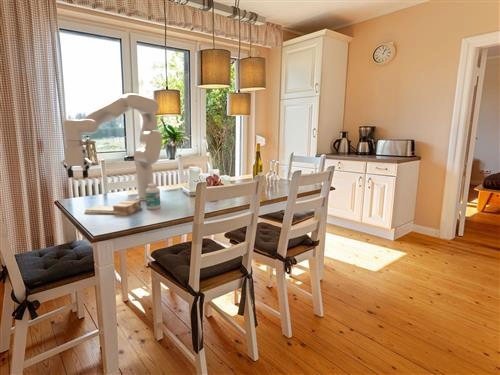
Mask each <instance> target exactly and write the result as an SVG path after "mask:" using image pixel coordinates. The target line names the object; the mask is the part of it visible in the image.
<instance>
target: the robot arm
mask: <svg viewBox="0 0 500 375" xmlns="http://www.w3.org/2000/svg"><path fill="white" fill-rule="evenodd" d="M131 110H136V111H137V112H139V114H140V115H141V117H142V126H141V129H140V135H139V142H140V144H141V145H143V146H145V147H138V148H136V150H134V153H133V159H134V164H135V171H136V183H137V185H136V186H137V196H136V197H135V200H141V201H144V202H146V192H145V191H146V189H147V188H148V184H151V183H154V171H153V165H155V164H156V163H157V162H158V161H159V159H160V155H161V151H162V150H161V149H162V146H163V136H162V134H161V133H160V131H158V118H157V115H156V113H158V112H159V110H160V104H159V102H158V101H157V100H156V99H154V98H151V97H148V96H144V95H141V94H137V93H126V94H122V95H121V96H119V97H117V98H115V99H114V100H113V101H111V102H109V103H108V104H106V105H104V106H102V107H100V108H99V109H97V110H95V111H92V112H91V113H89V114H88V115H86V116H84V117H82V118H81V119H64V120H63V130H64V138H65V147H64V148H65V150H64V160H62V161H61V165H62V166H63V167H64V168H65V170H66V171H67V177H68V179H71V178H74V170H73V167H81V169H82V178H83V179H86V178H88V177H89V173H88V171H89V169H90V168H91V166H92V164H93V162H92V160H89V158H88V154H87V149H86V146H84V145H85V144H86V143H85V141H83V134H89V135H92V134H95V133H97V132H98V131H99V129H100V128H99V126H101V125H103V124H107V123H109V122H112V121H115V120H116V119H118V118H120V117H121V116H123V115H124V114H125V113H127V112H129V111H131Z"/></svg>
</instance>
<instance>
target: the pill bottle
mask: <svg viewBox="0 0 500 375" xmlns="http://www.w3.org/2000/svg"><path fill="white" fill-rule="evenodd" d="M157 186H158V185H157V183H156V182H155V183H154V182H153V183H151V184H148V188H147V189H146V191H145V192H146V200H145V202H146V203H145V207H146V209H147V210H158V209H160V208H161V192H160V191H161V190H160V188H158V187H157Z"/></svg>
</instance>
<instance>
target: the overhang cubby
mask: <svg viewBox="0 0 500 375" xmlns="http://www.w3.org/2000/svg"><path fill="white" fill-rule="evenodd" d="M112 206H113V209H114V212H100V211H86V212H85V211H84V215H111V216H113V215H114V216H115V215H117V216H119V215H121V216H123V215H124V216H130V215H131V214H134V213H135V212H137V211H139V210H140V209H142V202H141V200H136V199H125V200H123V201H121V202H119V203H117V204H115V205H112Z"/></svg>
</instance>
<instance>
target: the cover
mask: <svg viewBox="0 0 500 375" xmlns="http://www.w3.org/2000/svg"><path fill="white" fill-rule="evenodd" d="M113 206H114V205H94V206H91V207H89V208H87V209H85V210H84V213H85V212H86V211H100V212H114V209H113Z"/></svg>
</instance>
